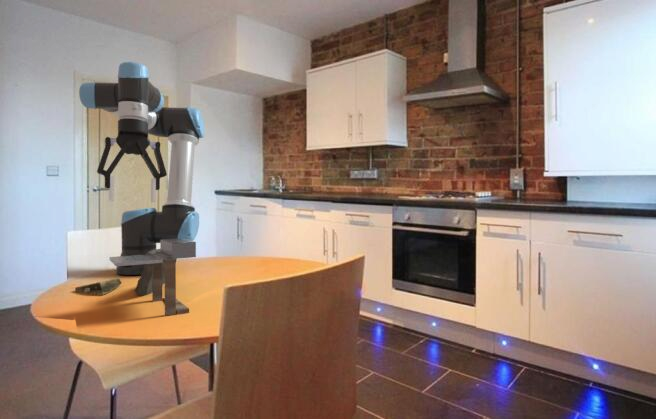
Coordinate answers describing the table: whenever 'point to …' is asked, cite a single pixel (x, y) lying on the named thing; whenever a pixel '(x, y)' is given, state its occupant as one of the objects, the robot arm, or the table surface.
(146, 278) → the marble piece
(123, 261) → the trapdoor
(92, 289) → the rock
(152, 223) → the robot arm
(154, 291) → the frame
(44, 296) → the table surface
